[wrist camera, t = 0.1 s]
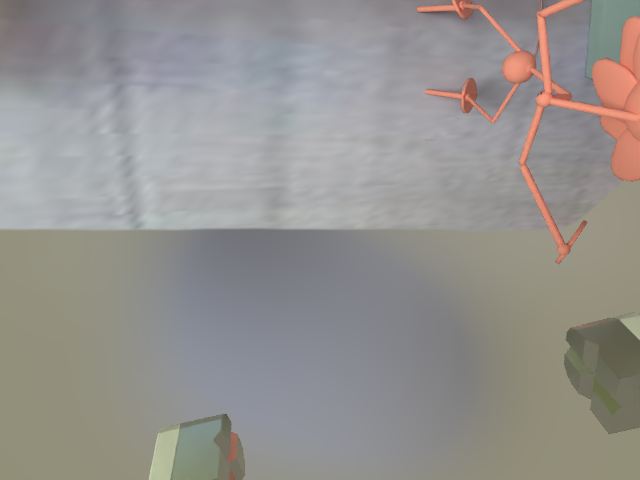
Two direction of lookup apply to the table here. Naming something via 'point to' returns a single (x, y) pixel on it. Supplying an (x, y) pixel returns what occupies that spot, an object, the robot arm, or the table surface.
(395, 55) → the table surface
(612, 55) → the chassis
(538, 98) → the figurine
